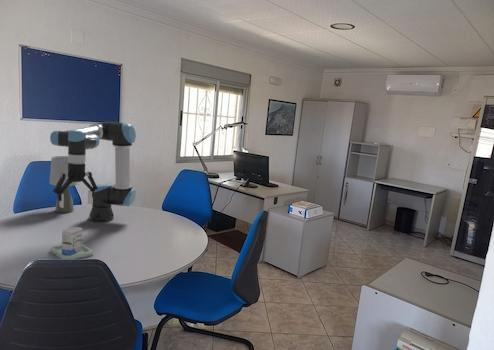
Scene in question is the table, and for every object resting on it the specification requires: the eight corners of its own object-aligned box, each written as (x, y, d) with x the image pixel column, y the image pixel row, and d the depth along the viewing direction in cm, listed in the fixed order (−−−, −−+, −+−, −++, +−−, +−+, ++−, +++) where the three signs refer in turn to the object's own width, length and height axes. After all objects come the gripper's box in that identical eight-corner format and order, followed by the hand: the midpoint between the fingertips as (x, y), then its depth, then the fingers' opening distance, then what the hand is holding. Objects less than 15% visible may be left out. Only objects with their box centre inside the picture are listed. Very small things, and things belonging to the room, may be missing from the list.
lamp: (58, 216, 219) (59, 160, 213) (43, 210, 228) (43, 156, 223) (85, 211, 235) (86, 159, 229) (69, 206, 244) (71, 155, 239)
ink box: (70, 256, 161) (70, 232, 160) (61, 254, 162) (61, 230, 161) (82, 249, 170) (83, 227, 168) (73, 248, 171) (74, 225, 169)
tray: (78, 245, 176) (78, 241, 176) (92, 255, 166) (92, 251, 166) (50, 251, 166) (50, 246, 166) (64, 262, 156) (64, 257, 156)
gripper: (98, 160, 174) (97, 200, 178) (45, 162, 155) (45, 206, 159) (105, 163, 170) (104, 203, 173) (51, 165, 150) (51, 210, 154)
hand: (76, 205), depth 166 cm, fingers open, 13 cm apart
